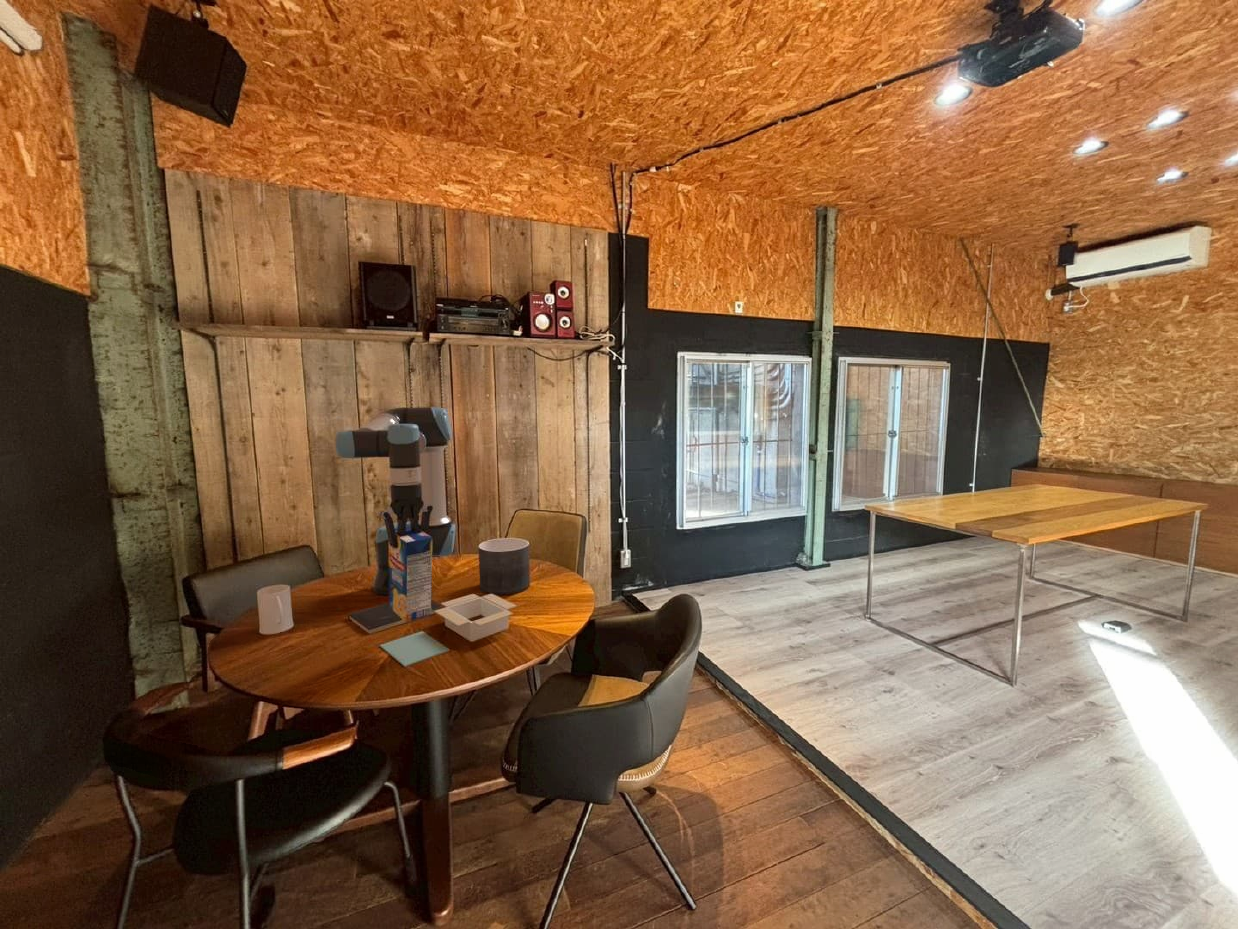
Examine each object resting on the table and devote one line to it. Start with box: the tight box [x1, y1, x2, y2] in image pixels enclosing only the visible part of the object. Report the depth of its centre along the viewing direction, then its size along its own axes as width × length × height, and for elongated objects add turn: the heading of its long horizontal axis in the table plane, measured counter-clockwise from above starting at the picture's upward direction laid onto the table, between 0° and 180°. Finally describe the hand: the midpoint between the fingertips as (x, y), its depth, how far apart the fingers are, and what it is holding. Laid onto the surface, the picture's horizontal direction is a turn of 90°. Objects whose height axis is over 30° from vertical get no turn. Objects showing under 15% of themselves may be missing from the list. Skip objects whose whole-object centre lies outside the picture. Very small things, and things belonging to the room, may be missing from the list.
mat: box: [379, 630, 450, 668], centre depth 140 cm, size 16×12×1 cm
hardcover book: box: [347, 599, 444, 635], centre depth 162 cm, size 16×23×2 cm
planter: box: [478, 537, 531, 596], centre depth 186 cm, size 18×18×16 cm
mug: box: [256, 584, 295, 635], centre depth 150 cm, size 12×8×12 cm
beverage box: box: [388, 526, 433, 623], centre depth 137 cm, size 7×11×22 cm, turn 46°
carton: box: [434, 593, 518, 643], centre depth 153 cm, size 22×19×6 cm
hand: (410, 570), depth 137 cm, fingers closed on beverage box, 2 cm apart
